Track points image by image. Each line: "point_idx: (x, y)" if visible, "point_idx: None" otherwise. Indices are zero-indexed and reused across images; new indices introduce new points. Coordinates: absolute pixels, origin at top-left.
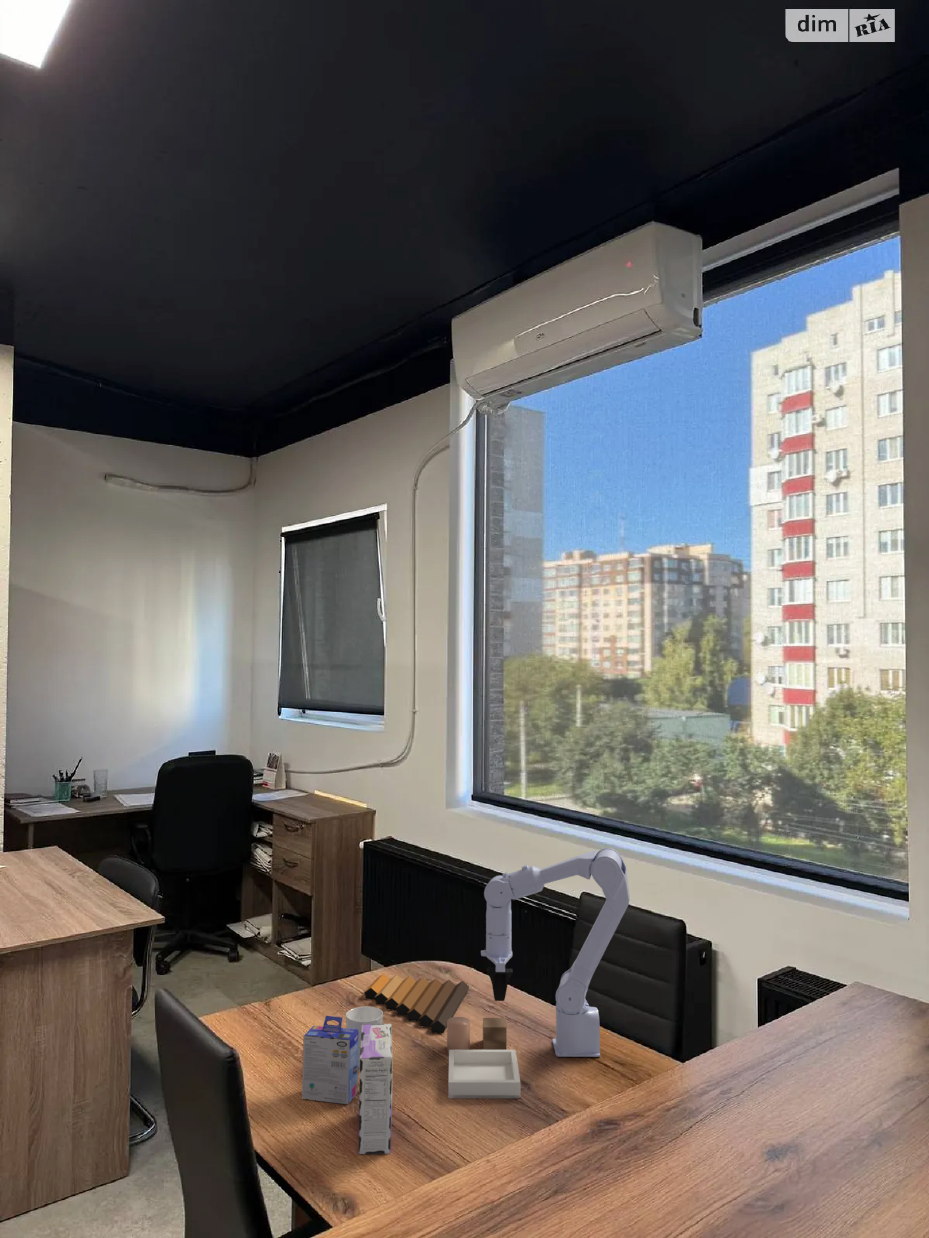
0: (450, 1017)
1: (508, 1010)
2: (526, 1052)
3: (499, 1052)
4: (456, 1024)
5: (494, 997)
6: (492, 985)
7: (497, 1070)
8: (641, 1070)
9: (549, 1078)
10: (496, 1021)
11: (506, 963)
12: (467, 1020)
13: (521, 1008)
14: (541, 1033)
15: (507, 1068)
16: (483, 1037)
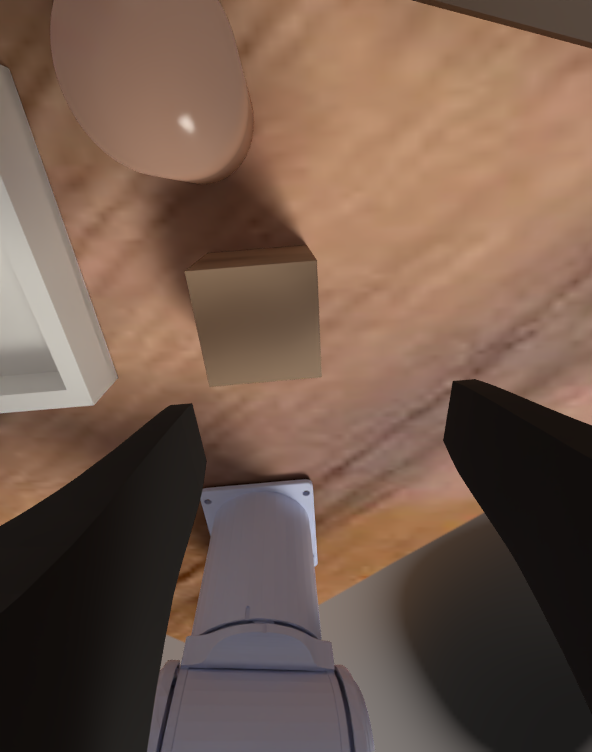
0: (523, 20)
1: (582, 342)
2: (219, 409)
3: (48, 343)
4: (84, 54)
5: (157, 415)
6: (58, 490)
7: (12, 321)
8: (175, 624)
9: (57, 470)
10: (273, 337)
11: (579, 678)
12: (182, 154)
13: (585, 387)
14: (367, 448)
15: (46, 357)
16: (224, 257)
